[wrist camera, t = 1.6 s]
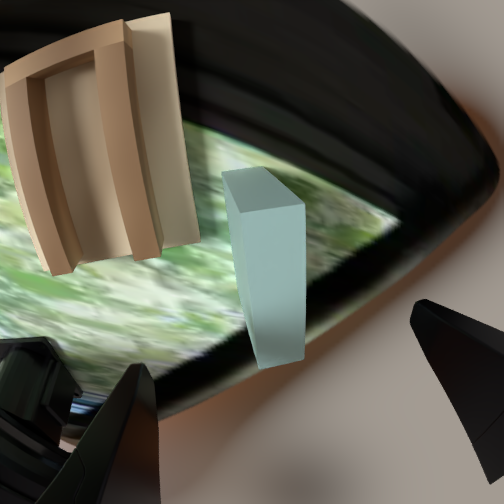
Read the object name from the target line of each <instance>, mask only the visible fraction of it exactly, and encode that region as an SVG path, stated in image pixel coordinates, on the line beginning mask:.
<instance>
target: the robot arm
mask: <svg viewBox="0 0 504 504" xmlns="http://www.w3.org/2000/svg"><path fill="white" fill-rule="evenodd" d="M410 325H411V327H412V329H413V331H414V333H415V336H416V338H417V339H418V342H419V344H420V346H421V348H422V350H423V352H424V355H425V356H426V359H427V360H428V362H429V364H430V366H431V367H432V369H433V371H434V373H435V374H436V376H437V378H438V380H439V381H440V383H441V385H442V387H443V389H444V390H445V392H446V394H447V396H448V398H449V399H450V402H451V403H452V405H453V407H454V409H455V411H456V413H457V415H458V417H459V419H460V421H461V423H462V425H463V427H464V429H465V431H466V433H467V435H468V437H469V439H470V441H471V443H472V446H473V448H474V450H475V452H476V454H477V457H478V459H479V461H480V464H481V466H482V468H483V470H484V473H485V475H486V478H487V480H488V482H489V484H492V483H494V482H495V481H497V480H498V479H499V478H501V477H502V476H504V332H503V331H500V330H498V329H496V328H493V327H491V326H489V325H486V324H484V323H482V322H479V321H477V320H475V319H472V318H470V317H467V316H465V315H463V314H461V313H458V312H456V311H454V310H451V309H449V308H446V307H444V306H442V305H439V304H437V303H434V302H432V301H429V300H427V299H422V300H419V301H417V302H415V304H414V306H413V310H412V314H411V317H410ZM82 394H83V392H82V390H81V389H80V387H79V386H78V385H77V383H76V382H75V381H74V379H73V378H72V376H71V375H70V374H69V372H68V371H67V369H66V368H65V366H64V365H63V364H62V362H61V361H60V359H59V358H58V356H57V354H56V353H55V351H54V350H53V348H52V347H51V345H50V343H49V342H48V341H47V340H46V339H44V338H26V339H10V340H0V504H161V498H160V476H159V427H158V418H157V409H156V399H155V388H154V382H153V379H152V377H151V375H150V373H149V371H148V369H147V367H146V365H145V364H144V363H142V362H141V363H132V364H130V365H129V367H128V368H127V370H126V371H125V373H124V374H123V376H122V377H121V379H120V380H119V382H118V383H117V385H116V386H115V388H114V389H113V391H112V392H111V394H110V395H109V397H108V398H107V400H106V401H105V403H104V404H103V406H102V407H101V409H100V410H99V412H98V413H97V415H96V416H95V418H94V419H93V421H92V422H91V424H90V425H89V427H88V429H87V430H86V432H85V433H84V435H83V436H82V438H81V440H80V441H79V443H78V444H77V446H76V448H75V449H74V450H73V452H72V453H69V452H66V451H65V450H63V449H61V448H59V444H60V438H61V433H62V428H63V427H66V426H67V423H68V418H69V414H70V409H71V405H72V401H73V398H81V397H82Z"/></svg>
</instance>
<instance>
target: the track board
mask: <svg viewBox="0 0 504 504" xmlns="http://www.w3.org/2000/svg"><path fill="white" fill-rule="evenodd" d="M0 106H1V114H2V122H3V129H4V136H5V141H6V147H7V152H8V157H9V162H10V167H11V171H12V175H13V179H14V183H15V187H16V191H17V195H18V198H19V202H20V205H21V209H22V212H23V215H24V218H25V221H26V224H27V227H28V230H29V233H30V236H31V239H32V241H33V244H34V247H35V250H36V252H37V255H38V257H39V260H40V262H41V265H42V267H43V269H44V271H48V270H50V271H51V274H52V276H57V275H62V274H67V273H72V272H73V271H74V269H75V267H76V266H77V265H78V264H83V263H88V262H94V261H99V260H104V259H110V258H115V257H120V256H126V255H131V254H133V258H134V261H139V260H144V259H150V258H156V257H161V254H162V249H164V248H170V247H176V246H181V245H187V244H193V243H198V242H201V238H200V230H199V224H198V219H197V213H196V207H195V202H194V196H193V190H192V183H191V177H190V171H189V164H188V158H187V151H186V144H185V137H184V130H183V123H182V115H181V108H180V100H179V92H178V83H177V74H176V65H175V55H174V45H173V34H172V23H171V16H170V12H169V13H164V14H158V15H153V16H149V17H144V18H140V19H135V20H131V21H127V22H124V20H123V19H120V20H117V21H113V22H110V23H107V24H103V25H100V26H97V27H94V28H91V29H88V30H85V31H82V32H80V33H77V34H74V35H72V36H69V37H66V38H64V39H61V40H59V41H57V42H54V43H52V44H50V45H47V46H45V47H43V48H41V49H39V50H37V51H35V52H32V53H30V54H28V55H26V56H24V57H23V58H21V59H19V60H17V61H15V62H13V63H11V64H10V65H8V66H6V67H4V72H2V73H0Z"/></svg>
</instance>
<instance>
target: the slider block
mask: <svg viewBox="0 0 504 504" xmlns="http://www.w3.org/2000/svg"><path fill="white" fill-rule="evenodd" d="M222 180H223V187H224V195H225V203H226V210H227V217H228V225H229V232H230V239H231V246H232V254H233V261H234V268H235V274H236V281H237V288H238V294H239V297H240V301H241V305H242V309H243V312H244V316H245V320H246V324H247V327H248V331H249V335H250V338H251V342H252V346H253V349H254V353H255V356H256V360H257V364H258V367H259V370H260V369H265V368H269V367H274V366H278V365H282V364H287V363H291V362H295V361H299V360H304V349H305V318H306V216H305V203H304V202H303V201H302V200H301V199H299V198H298V197H297V196H296V195H295V194H294V193H293V192H292V191H290V190H289V189H288V188H287V187H286V186H285V185H284V184H282V183H281V182H280V181H279V180H278V179H277V178H276V177H274V176H273V175H272V174H271V173H270V172H269V171H267V170H266V169H265V168H264V167H263V166H260V167H252V168H244V169H237V170H230V171H223V172H222Z"/></svg>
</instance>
